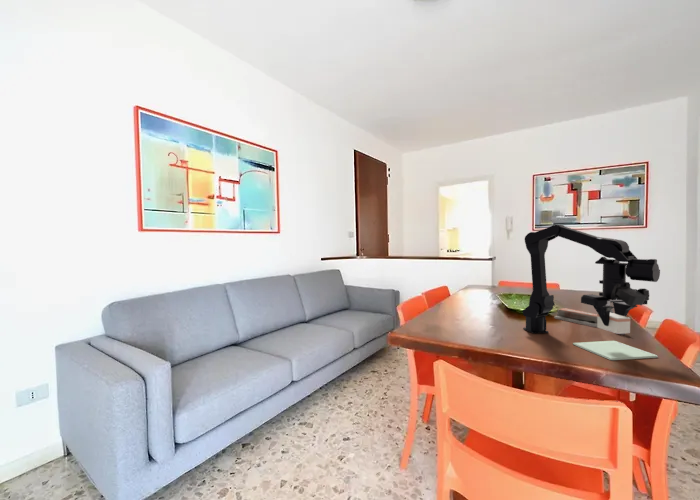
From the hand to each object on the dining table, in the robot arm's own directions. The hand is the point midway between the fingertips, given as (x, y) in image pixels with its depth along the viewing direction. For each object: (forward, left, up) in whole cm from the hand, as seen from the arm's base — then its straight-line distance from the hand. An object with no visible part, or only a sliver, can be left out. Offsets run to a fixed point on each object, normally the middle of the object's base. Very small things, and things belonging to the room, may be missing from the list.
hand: (613, 325), depth 101 cm
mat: (0, 0, -8) cm, 8 cm away
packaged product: (+20, +33, -9) cm, 39 cm away
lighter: (+20, +18, -9) cm, 28 cm away
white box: (0, 0, -2) cm, 2 cm away
